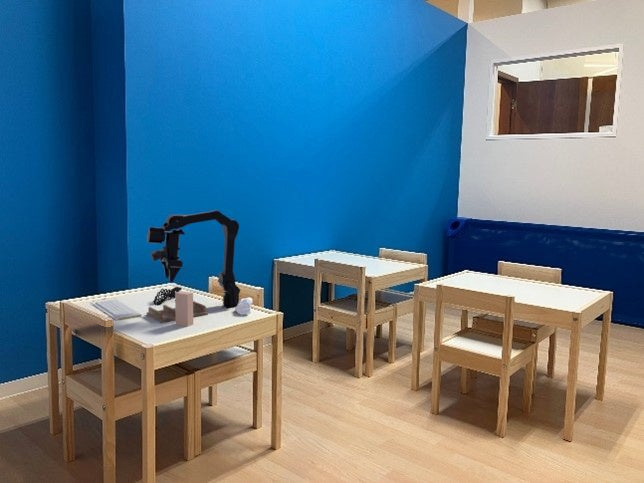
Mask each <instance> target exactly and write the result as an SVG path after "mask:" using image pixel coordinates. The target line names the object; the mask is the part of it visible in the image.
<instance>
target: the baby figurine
mask: <svg viewBox="0 0 644 483" xmlns="http://www.w3.org/2000/svg"><path fill="white" fill-rule="evenodd" d="M252 305H253V298H252V297H245V298H240V299H239V303H238V305H237V307H234V310H235V312H236V313H237V314H238V315H240V316H241V315H242V316H248V314H250V313H251V312H252V307H253V306H252Z"/></svg>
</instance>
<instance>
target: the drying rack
mask: <svg viewBox="0 0 644 483" xmlns="http://www.w3.org/2000/svg"><path fill="white" fill-rule="evenodd" d="M147 309H148V311H147V312H146V316H148V317H150V318H151V319H153V320H155V321H157V322H159V323H162V324H163V323H169V322H173V321H174V322H176V312H175V307H170V306H169V305H166V304H163V305H162V309H161V310H157V309H155V308H153V307H151V306H149V307H148V308H147ZM207 315H209V312H207V306H206V305H204V304H201V303H200V302H198V301H195V300H193V318H196V317H197V318H198V317H202V316H207Z"/></svg>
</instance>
